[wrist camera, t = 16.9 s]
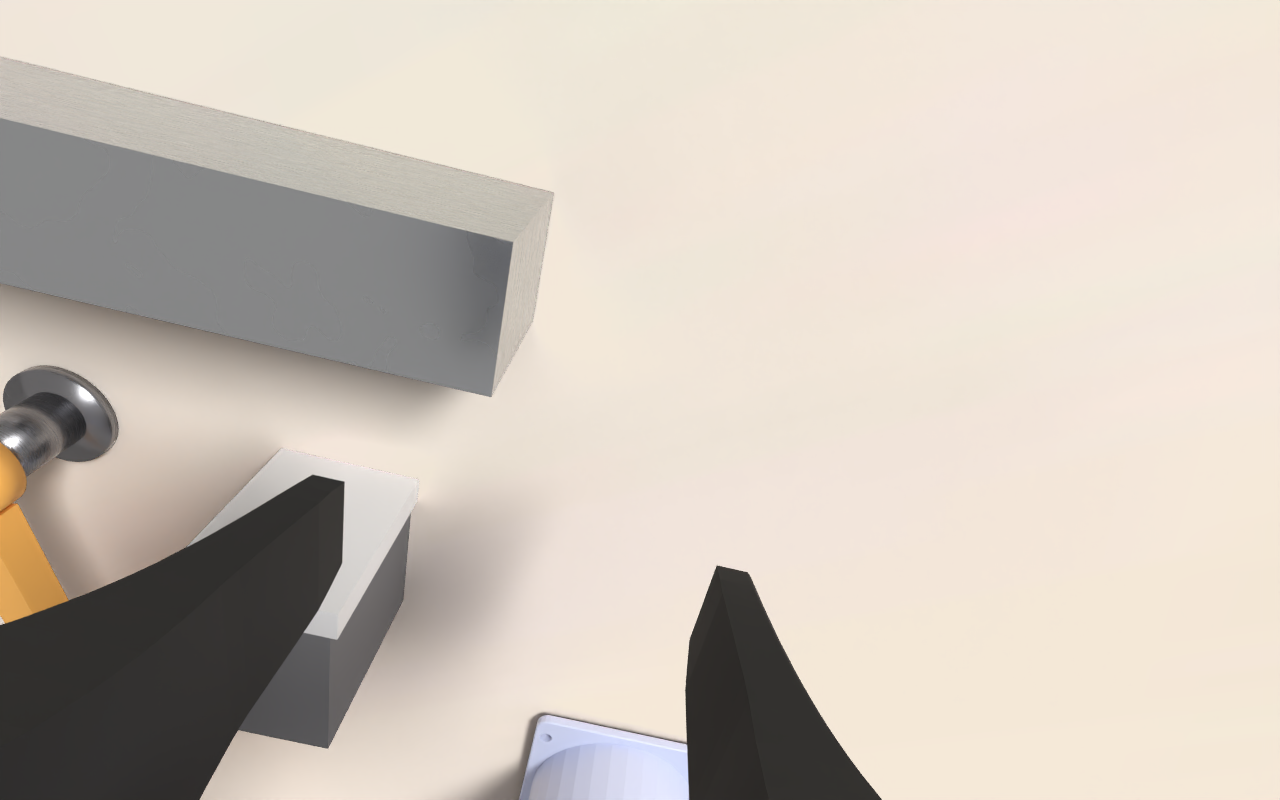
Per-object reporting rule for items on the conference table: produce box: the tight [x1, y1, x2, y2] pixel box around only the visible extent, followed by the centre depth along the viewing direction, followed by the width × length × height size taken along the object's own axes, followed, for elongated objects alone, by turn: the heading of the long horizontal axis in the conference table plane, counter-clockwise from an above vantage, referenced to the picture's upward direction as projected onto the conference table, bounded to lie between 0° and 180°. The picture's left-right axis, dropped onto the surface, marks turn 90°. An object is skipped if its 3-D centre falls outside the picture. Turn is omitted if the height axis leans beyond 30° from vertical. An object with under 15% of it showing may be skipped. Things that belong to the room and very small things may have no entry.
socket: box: [0, 57, 554, 397], centre depth 19 cm, size 4×16×5 cm, turn 77°
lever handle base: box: [0, 366, 118, 477], centre depth 24 cm, size 4×4×3 cm
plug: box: [187, 448, 419, 749], centre depth 24 cm, size 9×5×6 cm, turn 167°
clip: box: [0, 443, 69, 623], centre depth 25 cm, size 3×18×2 cm, turn 1°
